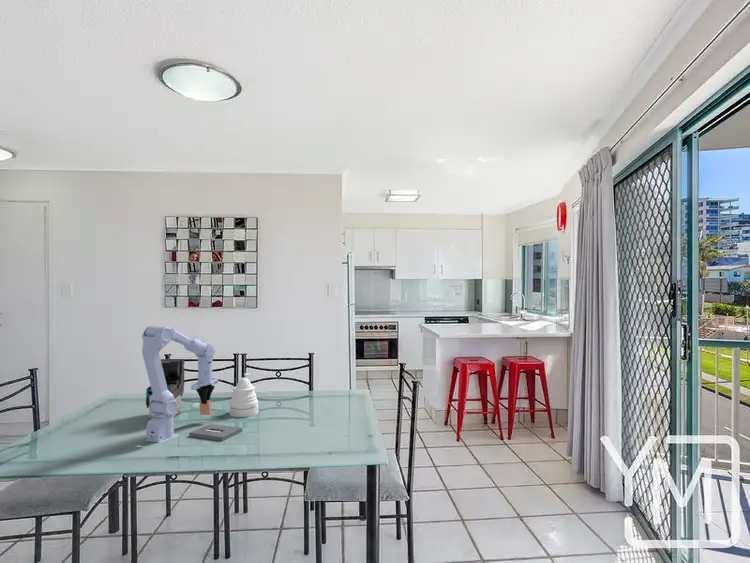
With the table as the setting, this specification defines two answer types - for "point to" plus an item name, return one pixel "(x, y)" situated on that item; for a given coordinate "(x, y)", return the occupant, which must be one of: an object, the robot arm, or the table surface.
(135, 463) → the table surface
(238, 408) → the honey pot
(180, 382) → the bill acceptor
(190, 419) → the table surface
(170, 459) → the table surface
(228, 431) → the gray slotted plate
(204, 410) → the upright peach slab
